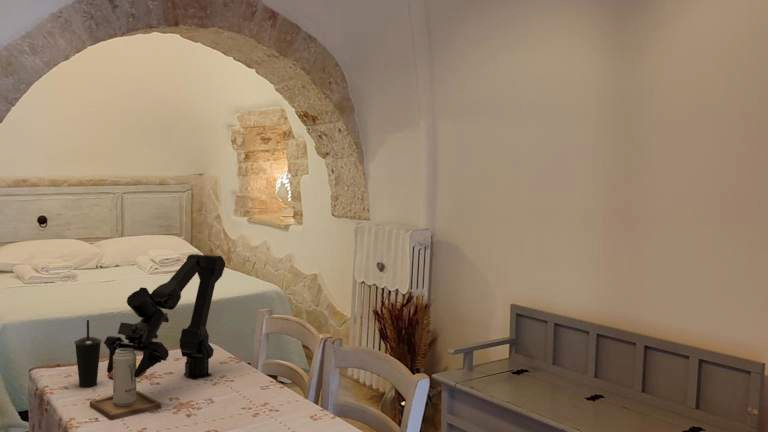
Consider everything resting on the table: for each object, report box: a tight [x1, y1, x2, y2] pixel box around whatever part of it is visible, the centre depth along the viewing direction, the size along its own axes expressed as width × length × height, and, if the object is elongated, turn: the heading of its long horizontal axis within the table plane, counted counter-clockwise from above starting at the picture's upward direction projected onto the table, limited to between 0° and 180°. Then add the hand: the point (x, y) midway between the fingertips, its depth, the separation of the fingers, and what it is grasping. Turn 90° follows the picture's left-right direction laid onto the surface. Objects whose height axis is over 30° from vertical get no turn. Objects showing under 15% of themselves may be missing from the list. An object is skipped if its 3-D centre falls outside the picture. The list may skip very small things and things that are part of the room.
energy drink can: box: [112, 348, 137, 406], centre depth 193 cm, size 6×6×15 cm
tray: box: [89, 390, 162, 421], centre depth 193 cm, size 14×14×2 cm
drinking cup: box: [73, 319, 102, 389], centre depth 211 cm, size 8×8×20 cm
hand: (121, 374), depth 191 cm, fingers open, 9 cm apart
